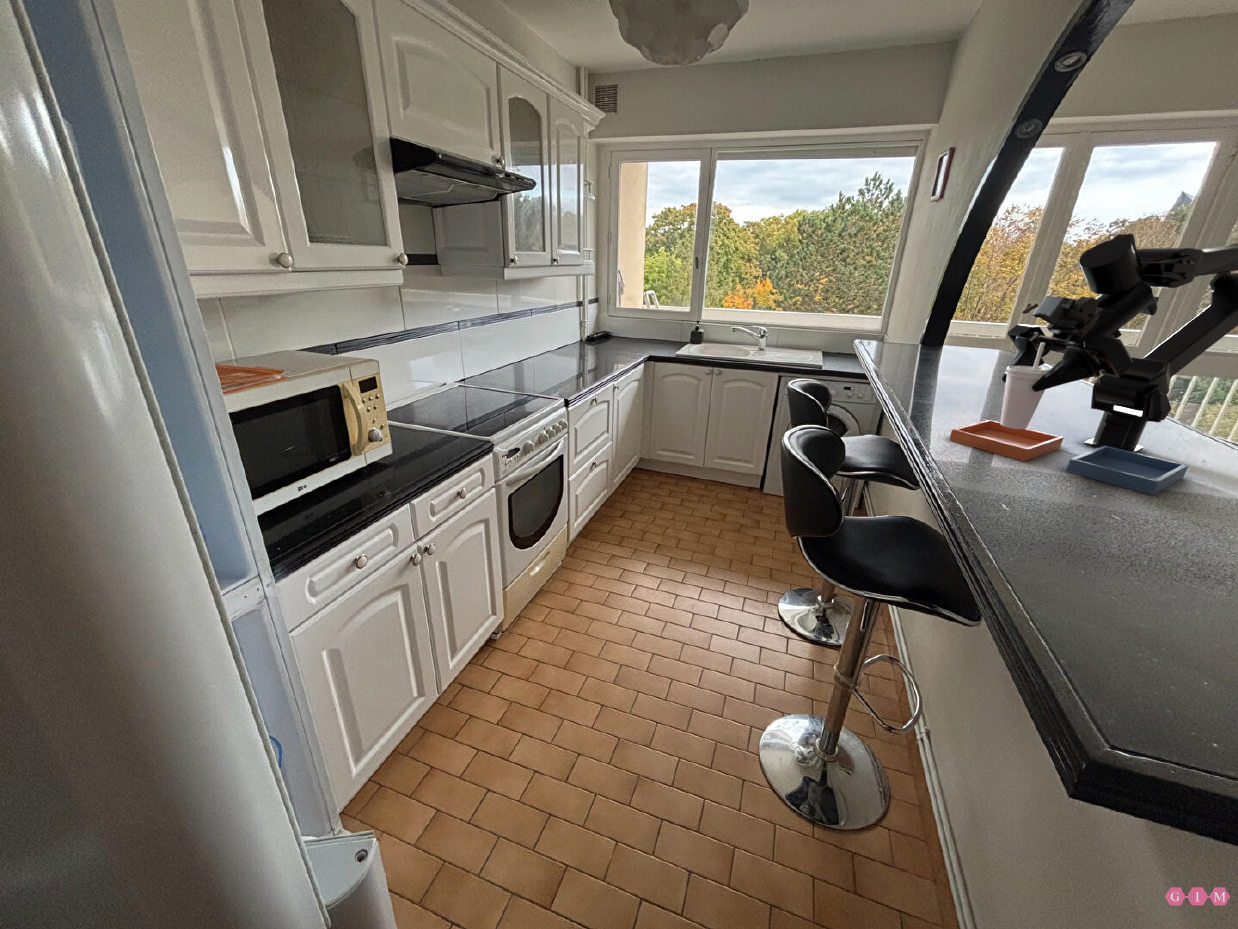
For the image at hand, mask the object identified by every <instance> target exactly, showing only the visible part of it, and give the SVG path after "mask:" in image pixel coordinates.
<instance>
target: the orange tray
mask: <svg viewBox="0 0 1238 929" xmlns="http://www.w3.org/2000/svg"><path fill="white" fill-rule="evenodd" d="M1000 422H1001V421H996V420H993V419H986V420H982V421H978V422H975V423H971V424H967V425H963V426H959V427H956V428H952V429H951V432H950V436H949V439H948V440H949V441H952V442H955V443H958V444H962V445H965V446H969V447H973V448H976V449H980V450H982V451H987V452H990V453H993V454H997V455H1001V456H1004V457H1007V458H1011V459H1015V460H1019V461H1022V462H1026V461H1029V460H1032V459H1034V458H1037V457H1040V456H1043V455H1046V454H1048V453H1051V452H1054V451H1057V450H1059V449H1061V446H1062V444H1063V441H1064V438H1065V437H1063V436H1060V435H1055V434H1051V433H1047V432H1043V431H1038V430H1034V429H1030V428H1026V429H1014V428H1008V427H1005V426H1002V425H1001V424H1000Z"/></svg>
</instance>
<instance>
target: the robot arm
mask: <svg viewBox="0 0 1238 929" xmlns="http://www.w3.org/2000/svg"><path fill="white" fill-rule="evenodd" d="M1078 263H1079V265H1080V268H1081V271H1082V273H1083V276H1084V278H1085V280H1086V283H1087V285H1088V287H1089V290H1090V292H1092V293H1093V294H1097V295H1099V296H1097V297H1096V298H1095V297H1090V296H1081V297H1079V298H1077V299H1075V298H1069V297H1065V296H1064V297H1063V296H1053V295H1045V297H1044V298H1043V299H1042V301H1041V302H1040V304H1038V306H1037V307H1036V309H1035V310H1034V312H1033V313H1032V316H1033V317H1035V318H1039V319H1040V320H1043V321H1044V322H1046V323H1048V325H1046V329H1047V330H1048V332H1049V333H1052V335H1051V336H1047V335H1046V334H1045V333H1044V331H1043V330H1042V328H1041V327H1040V326H1038V325H1031V324H1024V323H1023V324H1021V323H1018V324H1015V326H1013V327H1012V328H1011V329H1010V330H1009V331H1007V333H1006V334H1007V336H1008V338H1009V339H1010V340H1011V341H1012V344H1013V345H1014V346H1015V348H1016V349H1017V350H1016V353H1015V355H1014V357H1013V358H1012V360H1011V362H1010V363H1009V365H1008V367H1009V366H1033V367H1034V363H1035V360H1036V357H1037V353H1038V350H1039V347H1040V344H1041V342H1042V343H1045V345H1044V348H1043V352H1042V355H1041V358H1040V361H1039V365H1038V367H1041V366H1043V365H1045V363H1046V362H1045V361H1044V359H1043V358H1044V357H1045V356H1046V355H1048V354H1049V353H1050V351H1051V352H1055V353H1057V354H1060V355H1062V358H1061V359H1060V360H1059V361H1058V362H1057V363H1056V364H1055V365H1054V366H1053V367H1052V368H1050V370H1049V371H1048V372H1047V373H1046V374H1045V375H1043V376H1042V377H1041V378H1040V379H1039V380H1038V381H1037V382H1036V383H1035V384H1034V385H1033V386H1032V389H1033V391H1034V392H1038V391H1042V390H1045V391H1046V390H1049V389H1052V388H1055V387H1058V386H1059V387H1060V386H1062V385H1065V384H1070V383H1072V382H1078V381H1081V380H1085V379H1090V378H1097V379H1096V380H1095V382H1094V384H1093V386H1092V392H1091V393H1092V394H1091V404H1090V409H1091V410H1097V411H1102V412H1103V414H1102V417H1101V419H1100V421H1099V424H1098V425H1097V426H1098V427H1097V429H1096V431H1095V434H1094V436H1093V438H1091V439H1087V440H1085V441H1084V442H1083V444H1084V445H1086V446H1089V447H1094V448H1100V447H1102V446H1108V447H1113V448H1117V449H1121V450H1125V451H1130V452H1134V453H1138V452H1140V451H1143V450H1144V446H1142V445H1139V442H1140V439H1141V437H1142V435H1143V432H1144V430H1145V427H1146V425H1147V423H1149V422H1153V423H1161V422H1162V421H1164V420H1165V419H1166V418H1167V417H1168V416H1169V413H1170V412H1171V411H1172V406H1171V403H1170V400H1169V396H1168V394H1169V393H1170V388H1171V386H1170V385H1171V378H1173V377H1174V376H1175V375H1177V373H1178V372H1180V371H1181V370H1182V369H1184V368H1185V367H1186V366H1188V365H1189V364H1190V363H1192V362H1193V361H1194V360H1196V359H1197V358H1198V357H1199V356H1200V355H1202V354H1203V353H1205V352H1206V351H1207V350H1208V349H1210V348H1211V347H1213V345H1214V344H1216V343H1217V342H1218V341H1220V340H1221V339H1222V338H1224V337H1225V336H1226V335H1228V334H1229V333H1230V332H1232V331H1233V330H1234V329H1235V328H1236V327H1238V272H1237V271H1238V242H1234V243H1230V244H1227V245H1222V246H1215V247H1207V248H1194V247H1156V248H1155V247H1153V248H1152V247H1150V248H1149V247H1148V248H1146V247H1145V248H1137V246H1136V238H1135V236H1134V233H1123V234H1122V233H1121V234H1116V235H1115V236H1114V237H1113V238H1112V239H1109V240H1106V241H1103V242H1101V243H1098V244H1095V246H1093V247H1091V248H1089V249H1086V250H1085V251H1084V252H1083V253H1082V254H1081V256H1080V257H1079V259H1078ZM1235 271H1236V272H1235ZM1232 272H1233V273H1232ZM1214 274H1215V275H1214ZM1207 275H1208V276H1209V275H1214V277H1213V278H1212V279H1211V281H1210V282H1209V286H1210V289H1211V293H1210V305H1209V306H1208V307H1206V308H1205V309H1203V310H1202V311H1201V312H1200V313H1199V314H1198V315H1196V316H1195V317H1193V319H1191V320H1190V321H1188V322H1187V323H1186V324H1184V325H1183V326H1182V327H1181V328H1179V329H1178V330H1177V331H1175V333H1173V334H1171V336H1169V337H1168V338H1167V339H1165V340H1164V341H1163V342H1162V343H1160V344H1159V345H1158V346H1157V347H1155V348H1154V349H1153V350H1151V351H1150V352H1149V353H1148V354H1146V355H1145V356H1144V357H1142V358H1141V357H1133V356H1131V355H1130V353H1129V351H1128V350H1127V348H1126V346H1125V345H1124V342H1123V341H1122V339H1121V338H1120V337H1121V336H1122V335H1123V334H1122V332H1121V331H1120V329H1122V328H1123V327H1125V325H1127V324H1128V323H1129V322H1130V321H1132V320H1133V319H1134V318H1136V317H1137V316H1138V315H1140V314H1143V315H1147V316H1154V315H1156V313H1157V311H1158V308H1159V307H1158V301H1159V299H1160V297H1159V296H1156V295H1155V294H1154V290H1153V288H1154V289H1155V288H1156V289H1177V288H1180V287H1183V286H1185V285H1188V284H1191V283H1192V282H1194V279H1195V278H1196V277H1200V276H1201V277H1202V276H1207ZM1005 372H1006V370H1005ZM1005 372H1004V373H1003V374H1002V376H1001V378H1000V379H1001V381H1002V383H1005V384H1006V378H1007V374H1005Z"/></svg>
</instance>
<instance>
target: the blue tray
mask: <svg viewBox="0 0 1238 929" xmlns="http://www.w3.org/2000/svg"><path fill="white" fill-rule="evenodd" d="M1189 466H1190V465H1188V464H1185V463H1180V462H1176V461H1171V460H1168V459H1163V458H1158V457H1156V456H1150V455H1147V454H1142V453H1138V452H1136V453H1134V452H1130V451H1125V450H1121V449H1117V448H1113V447H1108V446H1102V447H1100V448H1098V447H1096V448H1095V449H1092V450H1090V451H1087V452H1085V453H1081V454H1080V455H1077V456H1074V457H1072V458H1070V459H1069V462H1068V464H1067V466H1066V468H1065V471H1066V472H1068V473H1071V474H1074V475H1078V476H1082V477H1086V478H1089V479H1092V480H1096V481H1099V482H1102V483H1103V482H1104V483H1107V484H1110V485H1114V486H1116V487H1117V486H1118V487H1121V488H1125V489H1128V490H1130V491H1131V490H1132V491H1135V492H1139V493H1142V494H1146V495H1149V496H1154V495H1155V494H1157V493H1159V492H1160V491H1163V490H1164V489H1166V488H1168V487H1170V486H1171V485H1173V484H1175V483H1176V482H1178V481H1180V480H1181V479H1183V478H1184V477H1185V474H1187V473H1186V472H1187V471H1188V469H1189Z"/></svg>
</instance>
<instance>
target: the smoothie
mask: <svg viewBox="0 0 1238 929" xmlns="http://www.w3.org/2000/svg"><path fill="white" fill-rule="evenodd" d="M1044 345H1045V343H1042V342H1041V344H1040V347H1039V350H1038V353H1037V357H1036V360H1035V363H1034V367H1033V366H1009V365H1008V366H1007V367H1006V368H1005V371H1006V372H1004V373H1005V374H1007V378H1006V383H1005V386H1004V392H1003V393H1004V394H1003V399H1002V409H1001V415H1000V421H999V422H1000V424H1001V425H1002V426H1005V427H1008V428H1014V429H1028V427H1029V424H1030V422H1031V420H1032V419H1033V417H1034V414H1035V412H1036V410H1037V409H1038V406H1039V404H1040V402H1041V399H1042V397H1043V395H1044V394H1045V391H1046V389H1045V390H1042V391H1038V392H1034V391H1033V389H1032V386H1033V385H1034V384H1035V383H1036V382H1037V381H1038V380H1039V379H1040V378H1041V377H1042V376H1043V375H1045V374H1046V373H1047V372H1048V371H1049V370H1050V369H1051V368H1050V369H1049V368H1047V367H1046V368H1045V367H1041V366H1039V367H1038V365H1039V361H1040V358H1042V357H1041V355H1042V352H1043V348H1044Z"/></svg>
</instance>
